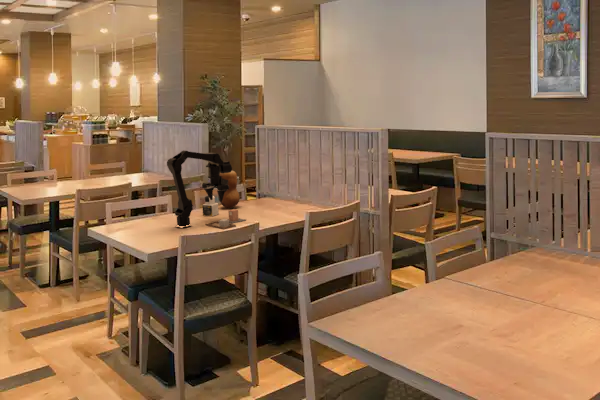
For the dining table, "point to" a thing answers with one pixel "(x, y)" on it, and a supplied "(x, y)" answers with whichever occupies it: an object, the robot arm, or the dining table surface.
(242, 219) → the slate pad
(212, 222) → the caddy
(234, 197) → the butternut squash
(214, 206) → the medicine bottle
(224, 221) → the grey block
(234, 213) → the terracotta block
